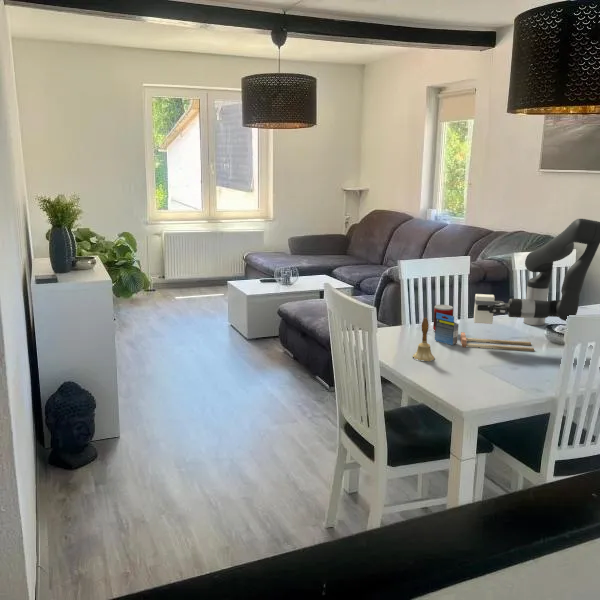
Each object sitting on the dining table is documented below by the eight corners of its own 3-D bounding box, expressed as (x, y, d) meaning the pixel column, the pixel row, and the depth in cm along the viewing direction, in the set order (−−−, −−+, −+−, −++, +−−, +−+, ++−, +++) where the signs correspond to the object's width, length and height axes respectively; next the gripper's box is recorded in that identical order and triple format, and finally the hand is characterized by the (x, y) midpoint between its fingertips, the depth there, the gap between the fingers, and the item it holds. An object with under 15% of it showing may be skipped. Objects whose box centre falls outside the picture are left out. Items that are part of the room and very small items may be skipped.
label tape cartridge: (457, 343, 247) (459, 314, 244) (452, 345, 244) (454, 316, 241) (439, 338, 253) (441, 310, 250) (434, 340, 250) (435, 312, 248)
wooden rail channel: (460, 339, 253) (460, 332, 252) (529, 343, 247) (530, 336, 247) (461, 347, 242) (462, 340, 242) (534, 352, 237) (535, 344, 236)
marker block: (473, 320, 246) (475, 293, 244) (491, 320, 245) (493, 294, 242) (474, 323, 242) (476, 296, 239) (492, 324, 241) (494, 297, 238)
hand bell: (427, 363, 224) (429, 322, 220) (408, 358, 229) (410, 317, 225) (438, 358, 230) (441, 317, 226) (420, 352, 235) (422, 313, 231)
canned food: (455, 332, 262) (456, 308, 259) (439, 334, 259) (441, 309, 257) (444, 327, 269) (446, 303, 266) (429, 329, 266) (431, 305, 263)
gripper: (519, 295, 245) (476, 293, 248) (525, 303, 232) (479, 301, 235) (517, 312, 247) (474, 310, 250) (523, 322, 233) (477, 319, 237)
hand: (477, 306), depth 242 cm, fingers closed on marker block, 4 cm apart
